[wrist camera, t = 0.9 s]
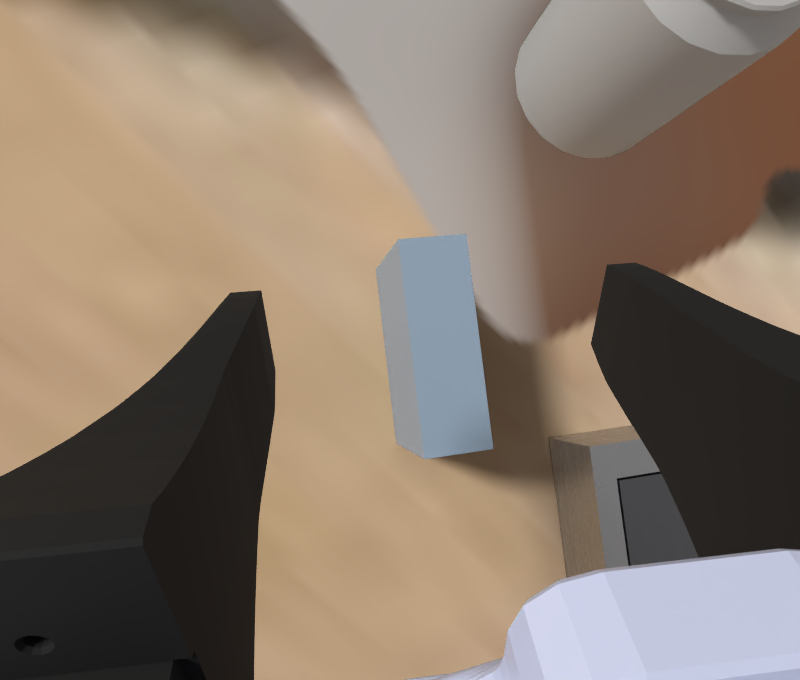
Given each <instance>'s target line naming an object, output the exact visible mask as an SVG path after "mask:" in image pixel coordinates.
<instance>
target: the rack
mask: <svg viewBox="0 0 800 680" xmlns="http://www.w3.org/2000/svg"><path fill="white" fill-rule="evenodd" d="M549 443H550V450H551V458H552V466H553V473H554V481H555V489H556V496H557V504H558V512H559V520H560V527H561V535H562V543H563V550H564V558H565V566H566V573H567V578H568V577H572V576H576V575H580V574H583V573H587V572H591V571H595V570H598V569H607V568H616V567H624V566H633V565H641V564H650V563H659V562H667V561H676V560H684V559H693V558H699V557H698V555H697V552H696V550H695V547H694V545H693V543H692V540H691V538H690V536H689V533H688V531H687V528H686V526H685V524H684V521H683V519H682V517H681V515H680V512H679V510H678V508H677V506H676V504H675V502H674V499H673V497H672V495H671V493H670V491H669V489H668V486H667V484H666V482H665V480H664V478H663V476H662V474H661V472H660V471H659V469H658V467H657V465H656V463H655V462H654V460H653V458H652V457H651V455H650V453H649V452H648V450H647V448H646V447H645V445H644V444H643V442H642V440H641V439H640V437H639V435H638V434H637V432H636V430H635V429H634V427H633V426H627V427H620V428H613V429H606V430H599V431H592V432H586V433H579V434H572V435H565V436H558V437H551V438H549Z"/></svg>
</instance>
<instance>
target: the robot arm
mask: <svg viewBox="0 0 800 680" xmlns="http://www.w3.org/2000/svg"><path fill="white" fill-rule="evenodd" d="M591 345H592V348H593V350H594V353H595V356H596V358H597V361H598V363H599V366H600V368H601V370H602V373H603V375H604V377H605V380H606V382H607V384H608V385H609V387H610V389H611V391H612V392H613V394H614V396H615V397H616V399H617V401H618V402H619V404H620V406H621V407H622V409H623V411H624V412H625V414H626V416H627V417H628V419H629V421H630V422H631V424H632V426H633V427H634V429H635V430H636V432H637V434H638V435H639V437H640V439H641V440H642V442H643V444H644V445H645V447H646V448H647V450H648V452H649V453H650V455H651V457H652V458H653V460H654V462H655V463H656V465H657V467H658V469H659V471H660V472H661V474H662V476H663V478H664V480H665V482H666V484H667V486H668V489H669V491H670V493H671V495H672V497H673V499H674V502H675V504H676V506H677V508H678V510H679V512H680V515H681V517H682V519H683V521H684V524H685V526H686V528H687V531H688V533H689V536H690V538H691V540H692V543H693V545H694V547H695V550H696V552H697V555H698V557H699V558H693V559H684V560H676V561H667V562H659V563H650V564H641V565H633V566H624V567H616V568H607V569H598V570H595V571H591V572H587V573H583V574H580V575H576V576H572V577H568V578H565V579H561V580H558V581H556V582H555V583H553V584H552V585H550V586H548V587H547V588H545V589H544V590H542V591H540V592H539V593H537V594H536V595H534V596H533V597H531V598H529V599H528V600H527V601H526V602H525V604H524V605H523V607H522V608H521V610H520V612H519V613H518V615H517V617H516V618H515V620H514V622H513V623H512V625H511V626H510V628H509V630H508V633H507V639H506V646H505V652H504V656H503V658H501V659H497V660H494V661H490V662H487V663H484V664H481V665H477V666H474V667H471V668H468V669H464V670H461V671H458V672H455V673H451V674H444V675H436V676H428V677H420V678H413V679H405V680H800V335H797V334H795V333H792V332H789V331H787V330H784V329H781V328H779V327H776V326H774V325H771V324H769V323H767V322H764V321H762V320H760V319H757V318H755V317H753V316H750V315H748V314H746V313H743V312H741V311H739V310H737V309H734V308H732V307H730V306H728V305H726V304H724V303H722V302H719V301H717V300H715V299H713V298H711V297H709V296H707V295H705V294H703V293H701V292H699V291H697V290H695V289H693V288H691V287H689V286H686V285H684V284H682V283H680V282H678V281H676V280H674V279H672V278H670V277H668V276H666V275H664V274H662V273H659V272H657V271H655V270H653V269H650V268H648V267H646V266H643V265H640V264H637V263H625V264H612V265H607V268H606V273H605V278H604V282H603V288H602V292H601V298H600V302H599V307H598V312H597V317H596V322H595V327H594V332H593V337H592V342H591ZM274 412H275V366H274V361H273V355H272V349H271V344H270V338H269V332H268V327H267V321H266V316H265V310H264V304H263V299H262V293H261V291H248V292H235V293H230V294H229V295H228V296H227V297H226V298H225V300H224V301H223V302H222V303H221V304H220V305H219V306H218V308H217V309H216V310H215V311H214V312H213V314H212V315H211V316H210V317H209V318H208V320H207V321H206V322H205V323H204V324H203V326H202V327H201V328H200V329H199V330H198V331H197V332H196V334H195V335H194V336H193V337H192V338H191V339H190V340H189V341H188V342H187V344H186V345H185V346H184V347H183V348H182V349H181V350H180V351H179V352H178V353H177V354H176V355H175V356H174V357H173V358H172V359H171V360H170V361H169V362H168V363H167V364H166V365H165V366H164V367H163V368H162V369H161V370H160V371H159V372H158V373H157V374H156V375H155V376H154V377H152V378H151V379H150V380H149V381H148V382H147V383H146V384H144V385H143V386H142V387H141V388H140V389H139V390H137V391H136V392H135V393H134V394H132V395H131V396H130V397H129V398H127V399H126V400H125V401H123V402H122V403H121V404H120V405H118V406H117V407H116V408H114V409H113V410H111V411H110V412H109V413H107V414H106V415H104V416H103V417H101V418H100V419H98V420H97V421H95V422H94V423H92V424H91V425H89V426H88V427H86V428H85V429H83V430H82V431H80V432H79V433H78V434H76V435H75V436H73V437H71V438H70V439H68V440H66V441H65V442H63V443H61V444H60V445H58V446H56V447H55V448H53V449H51V450H49V451H48V452H46V453H44V454H42V455H41V456H39V457H37V458H35V459H33V460H31V461H30V462H28V463H26V464H24V465H22V466H20V467H18V468H16V469H14V470H13V471H11V472H9V473H7V474H5V475H3V476H0V680H254V636H255V596H256V566H257V543H258V522H259V512H260V503H261V496H262V490H263V484H264V477H265V471H266V465H267V458H268V452H269V445H270V439H271V432H272V426H273V419H274Z"/></svg>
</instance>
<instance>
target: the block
mask: <svg viewBox="0 0 800 680" xmlns="http://www.w3.org/2000/svg"><path fill="white" fill-rule="evenodd" d="M376 275H377V283H378V292H379V301H380V309H381V318H382V326H383V335H384V343H385V352H386V360H387V369H388V377H389V386H390V394H391V403H392V411H393V420H394V428H395V437H396V443H397V444H399V445H400V446H402V447H404V448H406V449H407V450H409V451H411V452H413V453H414V454H416V455H418V456H420V457H421V458H423V459H429V458H436V457H443V456H450V455H457V454H463V453H470V452H477V451H484V450H490V449H493V442H492V434H491V426H490V418H489V410H488V402H487V394H486V386H485V378H484V370H483V363H482V355H481V347H480V339H479V331H478V323H477V315H476V307H475V299H474V291H473V283H472V275H471V267H470V260H469V251H468V244H467V236H466V234H459V235H447V236H434V237H421V238H408V239H398V240H397V241H396V243H395V244H394V245H393V247H392V248H391V250H390V251H389V252H388V254H387V255H386V256H385V258H384V259H383V260H382V262H381V263H380V264H379V266H378V267H377V269H376Z"/></svg>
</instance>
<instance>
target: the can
mask: <svg viewBox="0 0 800 680" xmlns="http://www.w3.org/2000/svg"><path fill="white" fill-rule="evenodd" d="M799 27H800V0H552V1H551V2H550V4H549V5H548V7H547V8H546V10H545V11H544V13H543V14H542V16H541V17H540V19H539V20H538V21H537V23H536V24H535V26H534V27H533V29H532V30H531V32H530V34H529V35H528V37H527V39H526V40H525V42H524V43H523V45H522V46H521V48H520V52H519V56H518V60H517V65H516V69H515V76H516V87H517V96H518V98H519V101H520V102H521V106H522V108H523V110H524V113H525V115H526V118H527V119H528V120H529V122H530V123H531V124H532V125H533V126H534V128H535V129H536V130H537V132H538V133H539V134H540V135H541V137H542V138H544V139H545V140H547V141H548V142H549V143H551V144H552V145H554V146H555V147H557V148H558V149H559V150H561V151H563V152H566V153H569V154H573V155H576V156H578V157H582V158H608V157H611V156H614V155H616V154H619V153H622V152H624V151H627V150H628V149H630V148H631V147H633V146H634V145H635V144H637V143H639V142H640V141H641V140H643V139H644V138H646V137H647V136H649V135H650V134H652V133H653V132H654V131H656V130H657V129H659V128H660V127H662V126H663V125H664V124H666V123H667V122H669V121H670V120H672V119H673V118H675V117H676V116H677V115H679V114H680V113H682V112H683V111H685V110H686V109H688V108H689V107H691V106H692V105H693V104H695V103H696V102H698V101H699V100H701V99H702V98H704V97H705V96H706V95H708V94H709V93H711V92H712V91H714V90H715V89H716V88H718V87H719V86H721V85H722V84H724V83H725V82H727V81H728V80H729V79H731V78H732V77H734V76H735V75H737V74H738V73H740V72H741V71H742V70H744V69H745V68H747V67H748V66H749V65H751V64H752V63H754V62H755V61H757V60H758V59H760V58H761V57H763V56H764V55H766V54H767V53H768V52H770V51H771V50H773V49H774V48H776V47H777V46H779V45H780V44H781V43H782V42H783V41H784V40H785V39H787V38H788V37H789V36H790V35H791V34H792V33H793V32H795V31H796V30H797V29H798V28H799Z"/></svg>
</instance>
